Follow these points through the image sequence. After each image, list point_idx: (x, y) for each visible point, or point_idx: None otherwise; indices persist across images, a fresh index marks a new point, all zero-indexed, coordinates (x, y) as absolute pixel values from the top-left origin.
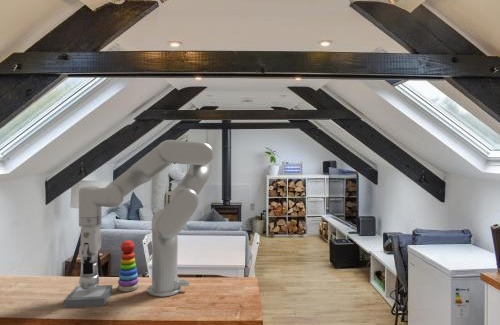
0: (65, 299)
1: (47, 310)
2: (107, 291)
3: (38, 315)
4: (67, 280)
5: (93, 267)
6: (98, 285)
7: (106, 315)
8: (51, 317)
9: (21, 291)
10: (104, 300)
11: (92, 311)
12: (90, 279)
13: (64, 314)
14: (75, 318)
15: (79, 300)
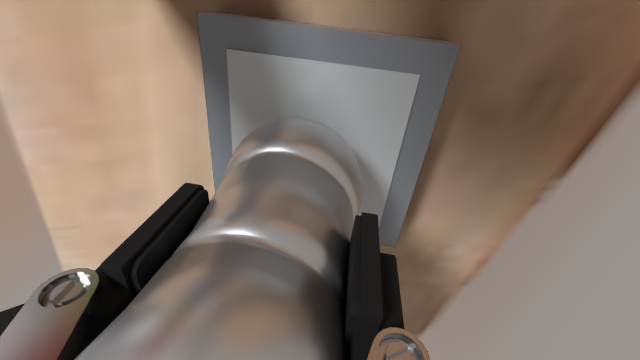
0: (388, 244)
1: (401, 270)
2: (327, 37)
3: (438, 289)
4: (92, 236)
5: (323, 240)
6: (207, 110)
7: (633, 7)
8: (483, 255)
9: None
10: (456, 44)
11: (507, 103)
12: (355, 193)
13: (476, 218)
14: (556, 174)
15: (413, 187)
